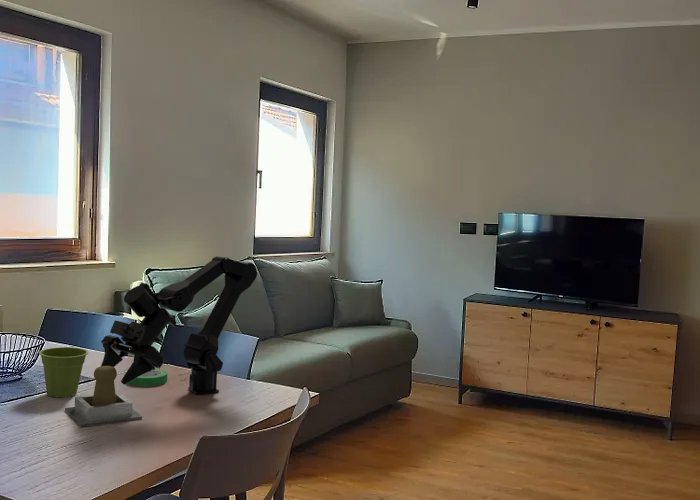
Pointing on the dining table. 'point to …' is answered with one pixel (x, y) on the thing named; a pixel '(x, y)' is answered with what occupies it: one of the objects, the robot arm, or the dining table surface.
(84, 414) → the steel collar socket
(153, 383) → the tape roll
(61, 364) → the plant pot
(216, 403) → the dining table surface
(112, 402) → the olive knobbed peg
